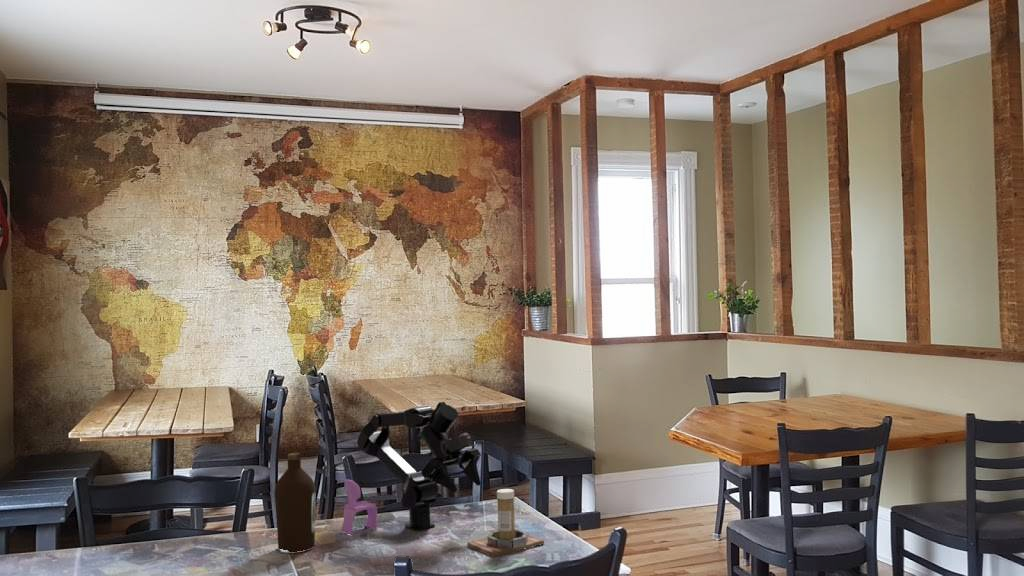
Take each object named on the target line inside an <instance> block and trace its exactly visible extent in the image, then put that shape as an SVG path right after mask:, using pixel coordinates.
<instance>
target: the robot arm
mask: <svg viewBox="0 0 1024 576" xmlns="http://www.w3.org/2000/svg"><path fill="white" fill-rule="evenodd" d="M458 418H459V413H458V411H457V409H456V408H455V407H453V406H452V405H449V404H446V402H445V401H440V402H438V403H437V405H436V407H435V409H433V408H432V406H431V405H425V406H424V405H423V406H418V407H411V408H409V409H406V410H404V411H397V412H385V411H384V412H379V413H375V414H374V415H372V417H371V419H370V421H369V422H368V423H367V424H366V425H365V426H364V427H363V428H362V429H361V431H360V433H359V435H358V438H357V447H358V448H359V449H360V450H359V451H361V452H362V453H364V454H366V455H368V456H371V457H375V458H377V459H378V460H379V461H380V462H381V463H382V464H383V465H384V466H385V467H386V468H387V469H388V470H389V471H390V472H391V473H392V474H393V475H394V476H395V477H396V478H397V479H398V480H400V482H401V483H402V484H403V485H404V495H403V496H402V498H401V505H402V507H403V508H407V509H408V511H409V523H405V524H404V527H406V528H409V529H411V530H413V531H420V530H424V529H429V528H433V527H435V526H436V525H435V523H432V522H431V512H430V511H431V509H430V508H431V507H430V506H431V505H432V504H436V503H437V497H438V493H439V486H438V485H440V486H442V487H444V488H446V489H448V490H450V491H451V492H453V493H457V492H458V487H457V486H456V484H455V483H454V481H453V479H452V477H451V476H450V474H449V471H448V469H449V468H451V467H456V466H459V469H462V471H461V472H462V473H463V474H464V475H466V477H468V478H469V480H470V481H472V483H474V484H475V485H476V486H478V487H479V486H481V485H482V484H481V478H480V475H479V469H478V462H479V460H480V458H481V457H482V453H481V452H480V451H479V450H478V448H473V449H472V448H471V449H468V450H465V451H464V452H463V449H465V448H469V447H470V446H471V445H470V444H472V442H473V440H472V437H471V436H470V434H469V433H468V432H464V433H462V434H459V436H456V437H453V438H448V437H447V436H446V433H448V432H449V431H450V430H451V428H452V426H454V423H456V421H457V419H458ZM391 426H392V427H393V426H405V427H406V428H409V429H420V428H422V430H420V431H417V437H416V442H417V443H419V442H424V443H425V445H426V447H427V448H428V449H429V451H430V452H429V454H428V455H429V456H430V458H429V459H428V460H427V462H426V463H425V464H424V466H423V467H422V469H421V471H417V470H416V469H415V468H413V467H412V466H411V465H410V464H409V463H408V462H407V461H406V460H405V459H404V458H403V457H402V456H401V455H399V453H398V452H397V451H396V450H395V449H394V448H392V446H391V445H390V438H389V437H390V435H391V430H390V429H391V428H390V427H391ZM379 428H381V429H379ZM462 453H463V454H462ZM460 455H461V456H460Z"/></svg>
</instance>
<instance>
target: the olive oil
mask: <svg viewBox="0 0 1024 576" xmlns="http://www.w3.org/2000/svg"><path fill="white" fill-rule="evenodd" d="M287 458H288V459H287V469H286V470H285V472H284V473H283V474H282V475H281V477H280V478H279V479H278V480H277V482H276V483H275V486H274V492H273V493H274V495H273V496H274V504H275V518H276V532H277V534H276V535H277V545H278V546H277V548H279V549H283V550H288V551H289V552H297V551H303V550H307V549H310V548H312V547H314V546H316V498H317V497H316V495H317V491H316V490H317V489H316V485H315V482H314V480H313V478H312V477H311V476H310V475H309V474H308V473H307V472H306V471H305V470H304V469H303V468H302V458H301V453H299V452H292V453H288V454H287ZM314 548H315V547H314ZM279 549H278V550H279Z"/></svg>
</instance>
